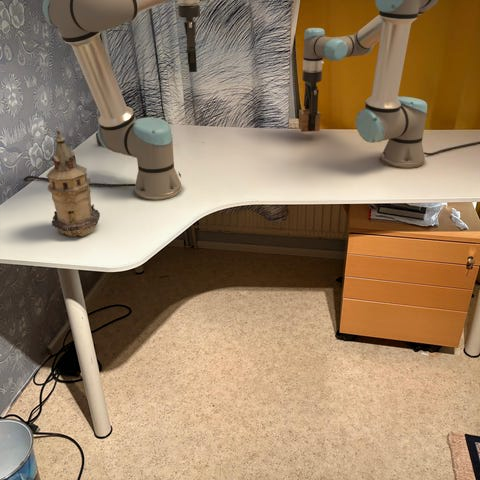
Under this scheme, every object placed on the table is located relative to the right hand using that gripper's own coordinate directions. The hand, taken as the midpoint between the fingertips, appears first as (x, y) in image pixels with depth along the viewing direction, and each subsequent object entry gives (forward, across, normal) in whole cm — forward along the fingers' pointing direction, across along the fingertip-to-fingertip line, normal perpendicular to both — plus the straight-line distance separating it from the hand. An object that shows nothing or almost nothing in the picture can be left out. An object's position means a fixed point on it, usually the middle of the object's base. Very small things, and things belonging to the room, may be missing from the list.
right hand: (309, 127), depth 221 cm
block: (+1, 0, 0) cm, 1 cm away
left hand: (-28, -10, +47) cm, 55 cm away
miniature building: (+4, -69, +84) cm, 109 cm away
